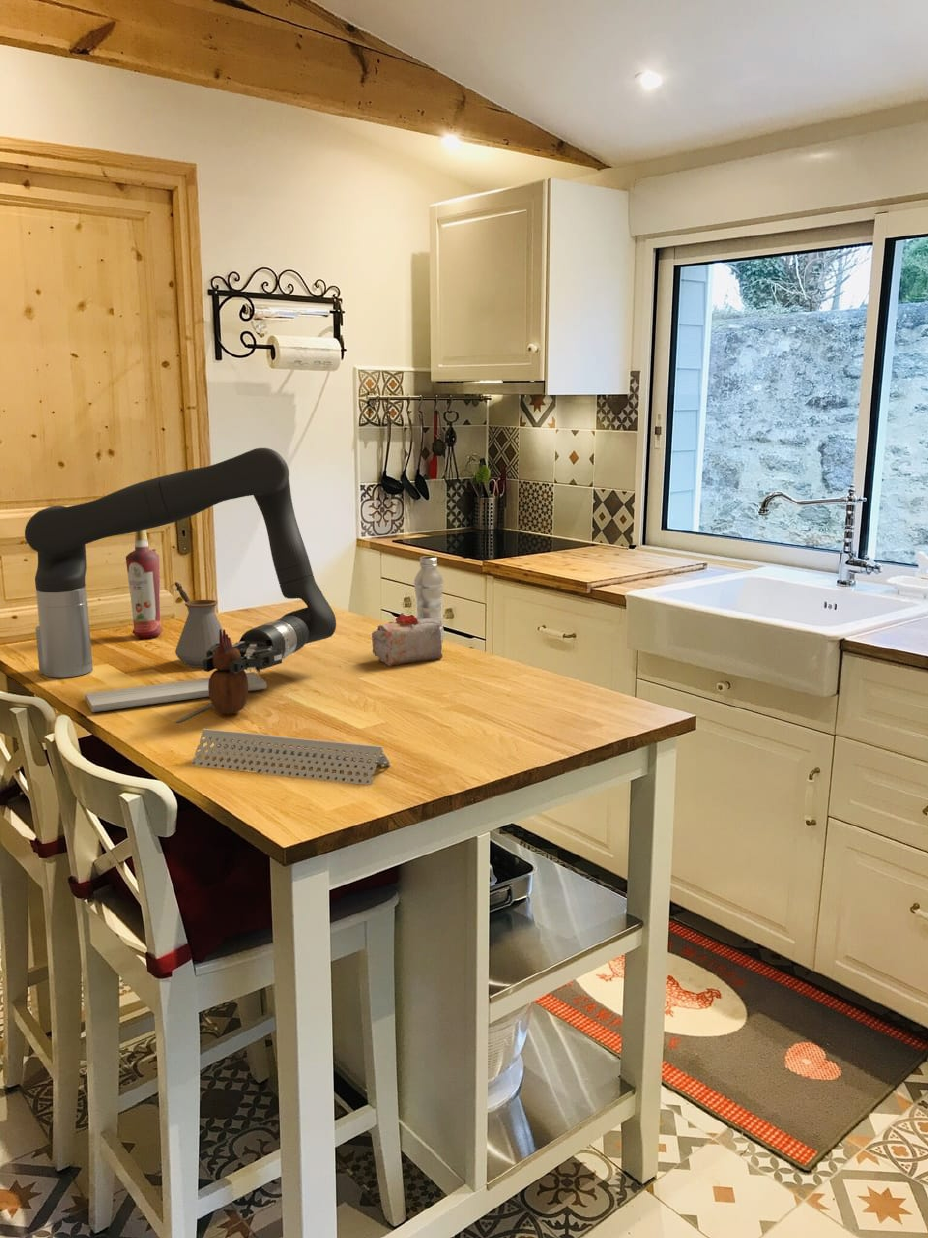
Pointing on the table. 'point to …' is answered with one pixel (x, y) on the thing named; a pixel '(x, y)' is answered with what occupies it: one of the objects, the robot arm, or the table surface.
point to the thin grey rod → (194, 713)
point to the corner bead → (290, 755)
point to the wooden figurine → (227, 679)
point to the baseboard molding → (158, 693)
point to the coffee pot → (197, 630)
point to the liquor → (144, 588)
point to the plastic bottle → (429, 591)
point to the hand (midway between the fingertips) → (218, 667)
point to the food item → (407, 640)
